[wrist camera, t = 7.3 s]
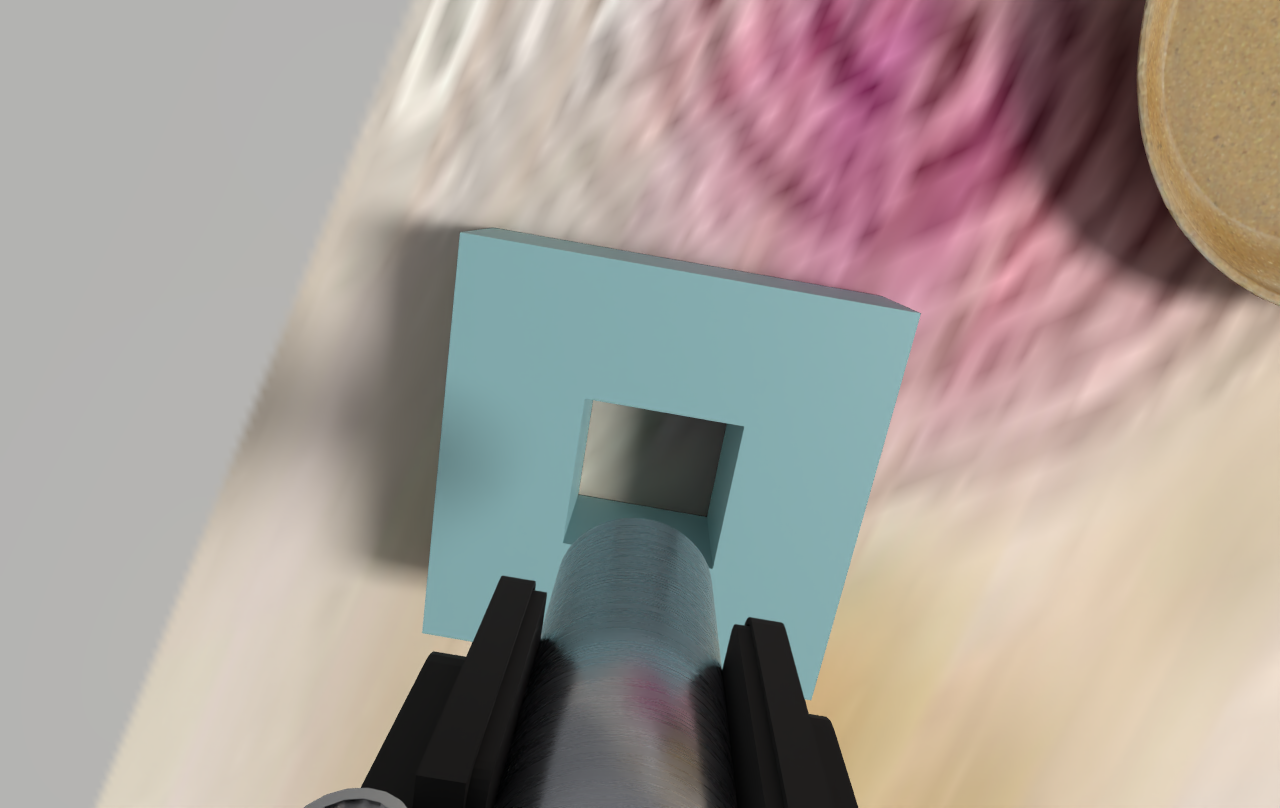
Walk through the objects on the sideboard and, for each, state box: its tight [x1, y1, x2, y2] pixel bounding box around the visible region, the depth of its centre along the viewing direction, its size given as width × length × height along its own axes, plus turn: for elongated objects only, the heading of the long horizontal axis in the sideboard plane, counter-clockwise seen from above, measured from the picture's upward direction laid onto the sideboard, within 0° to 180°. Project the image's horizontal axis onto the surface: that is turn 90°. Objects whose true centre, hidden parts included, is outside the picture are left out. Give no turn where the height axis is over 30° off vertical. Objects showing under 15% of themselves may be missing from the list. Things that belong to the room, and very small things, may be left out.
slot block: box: [422, 228, 921, 700], centre depth 21 cm, size 12×12×4 cm
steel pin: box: [493, 518, 738, 808], centre depth 9 cm, size 3×3×10 cm
